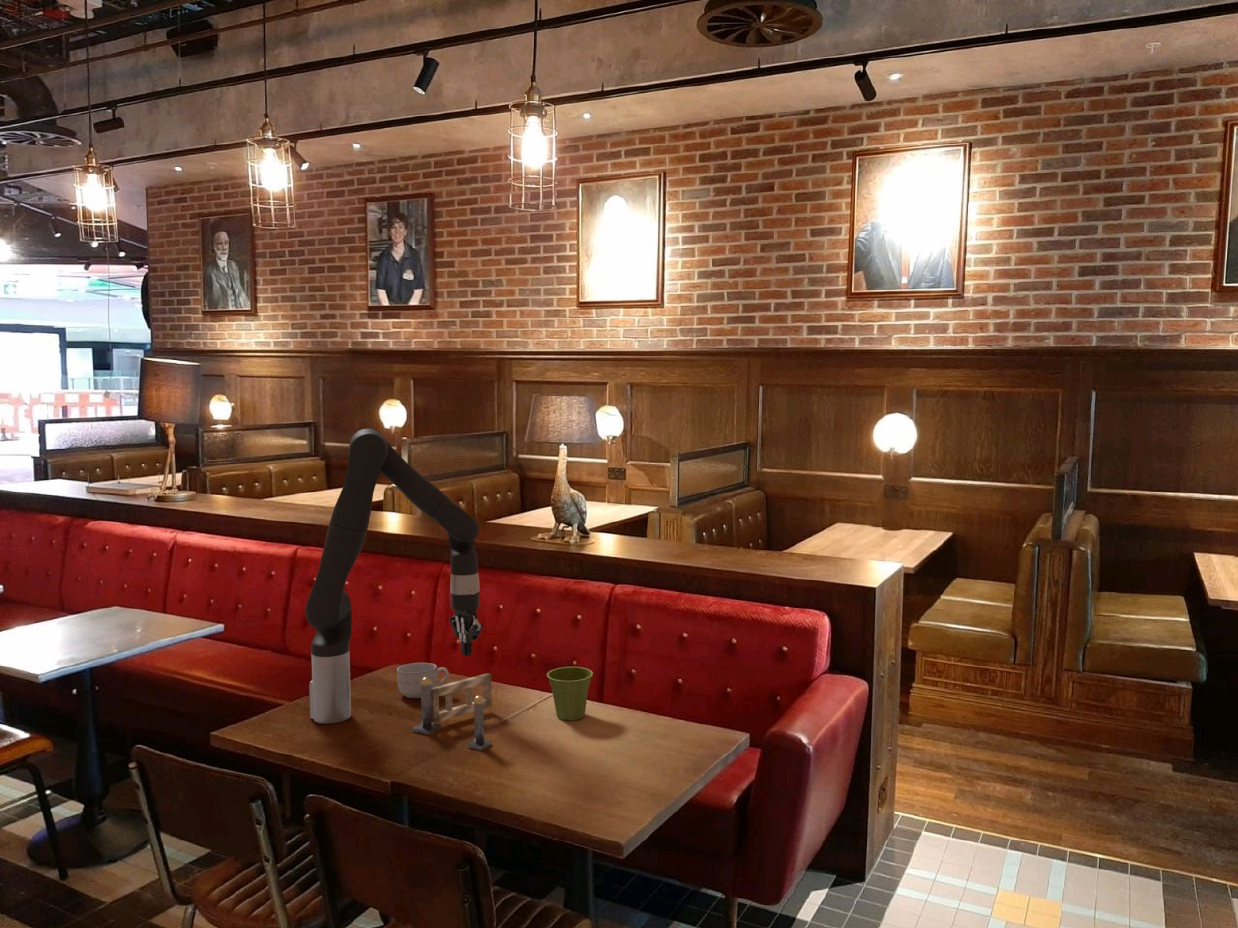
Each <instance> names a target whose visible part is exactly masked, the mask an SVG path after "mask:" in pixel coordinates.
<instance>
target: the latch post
mask: <svg viewBox="0 0 1238 928" xmlns="http://www.w3.org/2000/svg"><path fill="white" fill-rule="evenodd" d="M473 702H474V712H473V714H474V721H473V722H474V739H473V740H471V741H469V742H467V748H468V749H471V750H472V749H473V750H476V749H477V751H483V749H484V750H485V749H487V748H488V747H490V746H491V745H492V740H491V739H486V738H485V711H484V710H485V708H484V698H483V695H476V696H475V697H474V698H473Z"/></svg>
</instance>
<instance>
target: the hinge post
mask: <svg viewBox="0 0 1238 928" xmlns="http://www.w3.org/2000/svg"><path fill="white" fill-rule="evenodd" d="M420 699H421V703H420V704H421V723H419V724H417V725H414V726H413V727H412V728H411V731H412V732H413V733H417V734H421V735H425V736H430V735H432V734H434V733H436V732H437V731H439V730H441V729H442V724H440V723H438V722H437V723H432V709H431V679H430V678H428V677H425V678H423V679H422V680H421V698H420Z"/></svg>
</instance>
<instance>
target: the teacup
mask: <svg viewBox="0 0 1238 928" xmlns="http://www.w3.org/2000/svg"><path fill="white" fill-rule="evenodd" d="M440 672H443V673H444V674H445V675H444V677H443V679H441V680H439V681H437V680H438V679H437V678H438V677H439V673H440ZM396 673H397V687H398V690H399V692H400V693H401V694H402V695H404V697H406V698H409V699H421V680H422V679H423V678H425V677H428V678H430V679H431V688H433V687H437V686H441V685H444V683H445V682H447V680H448V679H449V676H450V672H449V670H448V668H446V667H442V666H441V667H438V665H436V664H435V663H429V662H414V663H413V662H412V663H407V664H403V665H400V666H398V667H397V668H396Z"/></svg>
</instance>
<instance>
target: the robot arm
mask: <svg viewBox="0 0 1238 928" xmlns="http://www.w3.org/2000/svg"><path fill="white" fill-rule="evenodd" d="M380 474H381V475H383V476H384V477H385V478H387V479H388V480H389V481H390V482H391V483H392V484H393V485H394V486H395V487H396V488H397V489H398V490H399V491H400V492H401V493H402V494H403V495H404V496H405V497H406V498H407V500H408V501H410V502H411V503H412V504H413V505H414V506H415V507H416V508H418V509H419V511H421V512H422V513H424V514H425V516H427V517H428V518H430V519H431V520H433V521H435V522H436V523H438V524H439V526H441V527H442V528H443V529H444V530H445V531H446V532H447V535H448V544H449V551H450V580H449V582H450V583H449V584H450V587H449V588H450V589H449V590H450V591H449V592H450V608H451V609H452V610H454V611H453V614H454V615H453V616H450V617H449V618H448V620H449V623H450V625H451V628H452V630H453V634H454V635H455V637H456V639H457V638H458V639H459V641H460V647H461V649H460V650H461V655H462V656H464V657H469V656H472V654H473V641H477V640H478V638H479V637H480V634H481V632H482V630H483V628H484V623H482V622H481V623H480V622H479V621H478V619H479V618H478V616H479V615H478V613H477V610H478V609H479V608H480V607H481V598H480V597H481V596H480V595H481V594H480V593H481V591H480V587H481V586H480V577H479V559H478V553H477V550H476V547H475V545H476V543H475V540H476V539H477V537H478V535H479V532H480V527H479V523H478V522H477V520H476V519H475V518H474V517H473V516H472V515H471V514H469V513H468V512H466V510H464V509H462V507H460V506H458V505H457V504H455V502H454V501H453V500H452V499H451V498H450V497H449V496H448V495H446V494H445V493H444V491H442V490H441V489H440V488H439V487H437V486H436V485H435V484H433V483H432V482H431V481H430V480H428V479H427V477H424V476H423V475H422V474H421V473H420V472H418V471H417V469H415V468H413V467H412V465H410V464H409V463H408V462H407V461H406V460H405V459H404V458H402V457H401V455H400V454H399V453H398V452H397V451H396V450H395V449H394V448H393V447H392V446H391V444H390V443H389V442H388V440H387V439H386V438H385V436H384V435H383V434H382V433H381V432H380V431H378V430H376V429H373V428H363V429H360V430H358V431H356V433H354V434H353V435H352V436H351V439H350V441H349V447H348V460H347V467H346V474H345V478H344V482H343V485H342V489H341V491H340V494H339V496H338V498H337V500H336V502H335V505H334V508H333V511H332V514H331V516H330V519H329V523H328V528H327V531H326V537H325V542H324V546H323V549H322V554H321V557H320V561H319V562H320V563H319V567H318V571H317V574H316V577H315V580H314V583H313V584H312V585H313V586H312V588H311V590H310V593H309V596H308V598H307V601H306V604H305V613H304V614H305V618H306V620H307V622H308V624H309V625H310V626H311V627H312V628H313V629H315V630H316V632H315V635H314V637H313V639H312V641H311V645H310V647H311V648H310V652H311V653H310V655H311V681H310V682H309V688H308V689H309V714H310V716H309V717H310V719H312V720H313V721H314V722H315V723H318V724H325V725H326V724H329V725H331V724H337V723H340V722H345V721H346V720H349V719H350V718H351V717H352V701H351V699H352V698H351V672H350V671H351V665H350V664H351V663H350V644H351V643H350V642H351V639H352V632H353V610H352V609H353V608H352V607H353V606H352V601H351V598H350V596H349V594H348V593H347V591H345V590H344V589H345V585H346V581H347V579H348V576H349V574H350V572H351V570H352V568H353V566H354V565H355V563H356V561H357V559H358V557H359V556H360V554H361V551H362V548H363V547H364V543H365V540H366V536H367V532H368V528H369V525H370V524H369V523H370V519H371V513H372V507H373V498H374V492H375V489H376V486H377V483H378V480H379V476H380Z"/></svg>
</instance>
